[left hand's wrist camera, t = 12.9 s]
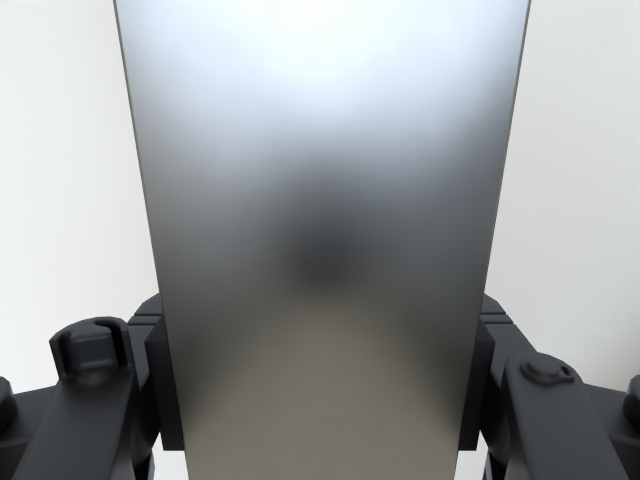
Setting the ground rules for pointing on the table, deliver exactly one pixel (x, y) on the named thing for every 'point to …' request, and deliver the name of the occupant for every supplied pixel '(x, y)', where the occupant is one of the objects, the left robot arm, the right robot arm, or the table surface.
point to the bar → (321, 222)
